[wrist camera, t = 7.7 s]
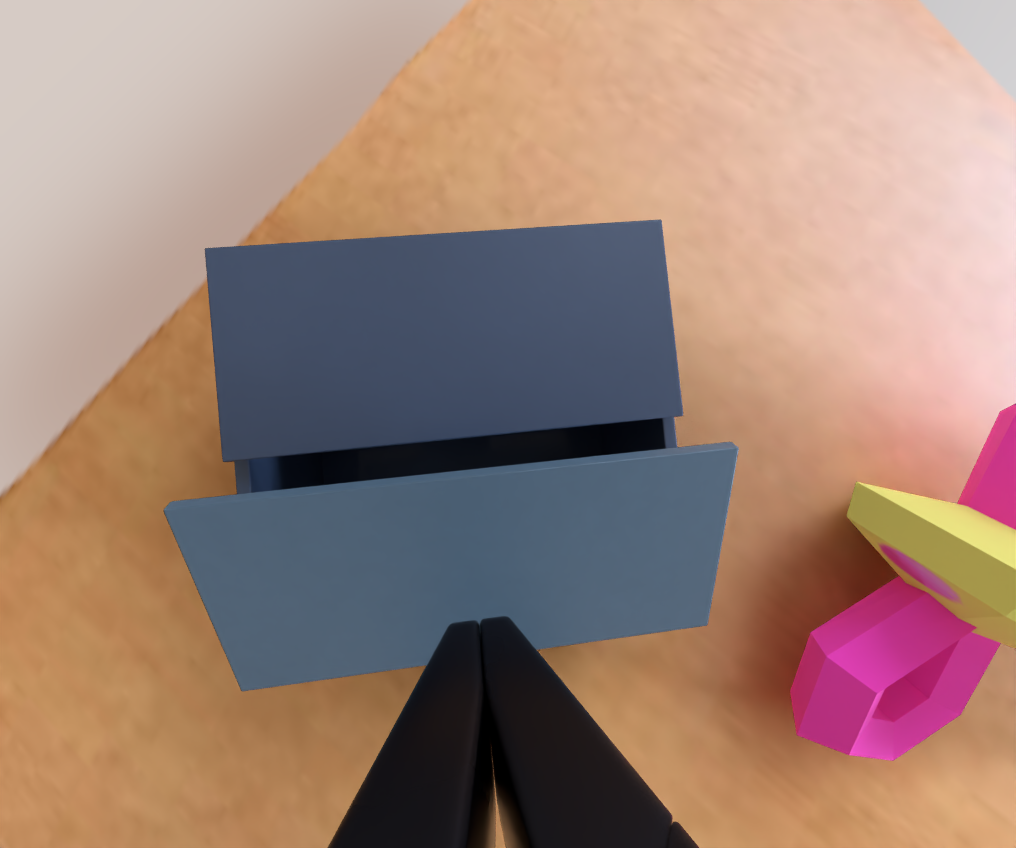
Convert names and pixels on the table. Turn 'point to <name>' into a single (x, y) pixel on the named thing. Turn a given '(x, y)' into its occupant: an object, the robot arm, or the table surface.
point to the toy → (917, 613)
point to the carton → (441, 352)
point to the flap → (456, 559)
